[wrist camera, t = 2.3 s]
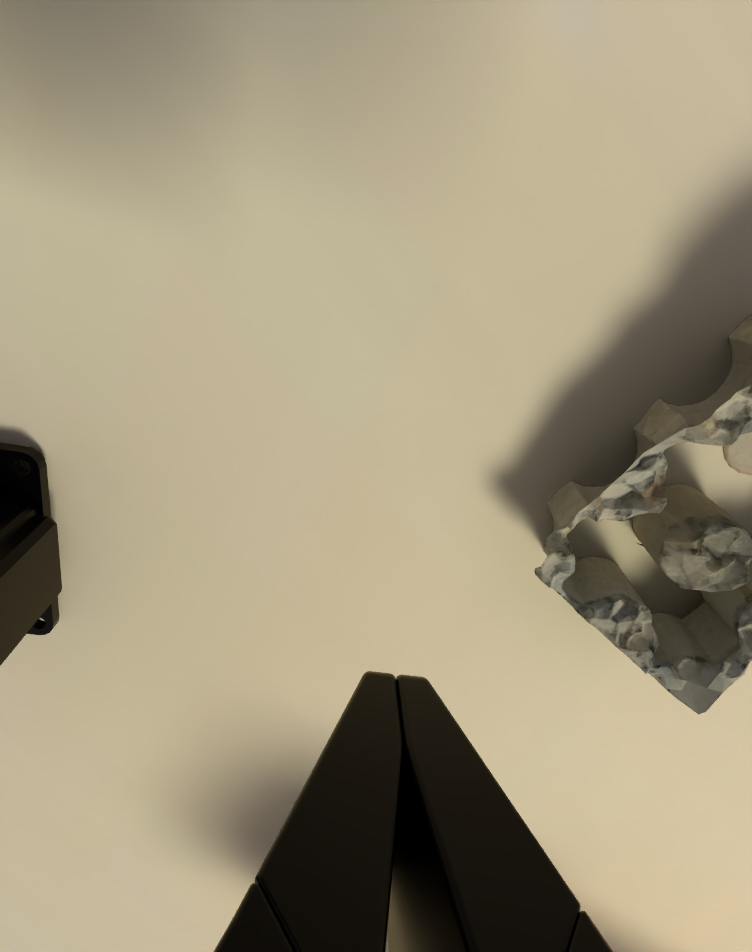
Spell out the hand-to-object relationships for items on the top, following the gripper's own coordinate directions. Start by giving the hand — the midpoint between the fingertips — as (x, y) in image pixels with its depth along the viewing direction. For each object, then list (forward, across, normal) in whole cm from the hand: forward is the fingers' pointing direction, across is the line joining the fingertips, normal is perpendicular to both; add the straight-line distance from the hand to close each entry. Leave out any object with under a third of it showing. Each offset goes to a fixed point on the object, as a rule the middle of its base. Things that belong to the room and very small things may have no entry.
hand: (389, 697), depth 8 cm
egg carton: (+11, -10, 0) cm, 15 cm away
